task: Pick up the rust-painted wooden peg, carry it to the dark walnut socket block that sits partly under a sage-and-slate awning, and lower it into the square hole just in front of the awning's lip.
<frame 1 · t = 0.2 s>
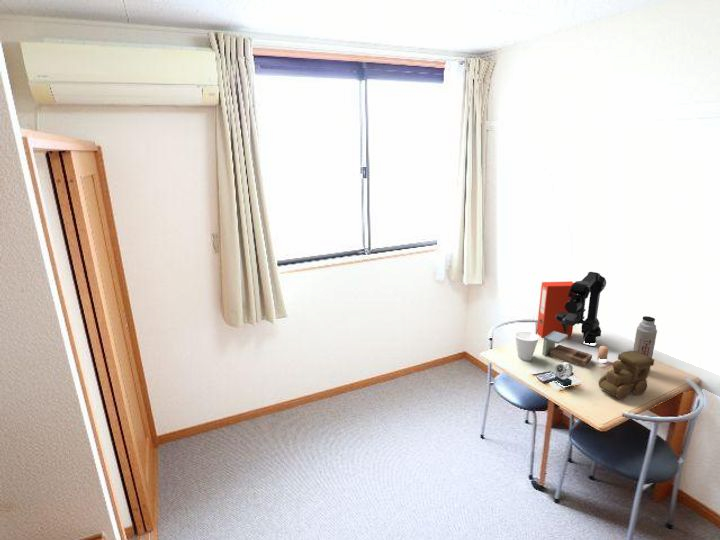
hand: (574, 335, 211), 14 cm above the table, tool pointing down, fingers open, 9 cm apart
watch: (562, 384, 194), on the table
cup: (524, 357, 220), on the table
awning: (548, 351, 225), on the table
file binder: (553, 335, 245), on the table
peg: (601, 361, 213), on the table
socket block: (571, 359, 217), on the table
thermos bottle: (639, 371, 204), on the table
wooden toy train: (622, 391, 187), on the table
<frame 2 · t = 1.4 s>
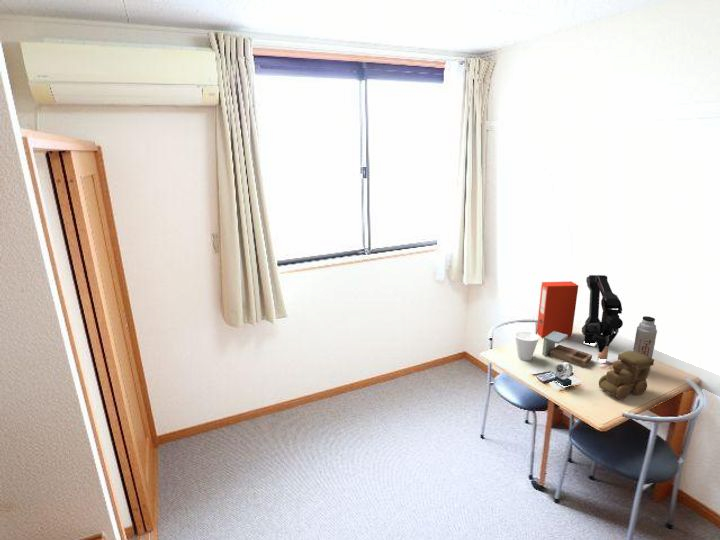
hand: (603, 349, 211), 7 cm above the table, tool pointing down, fingers open, 9 cm apart
nothing on the table moved.
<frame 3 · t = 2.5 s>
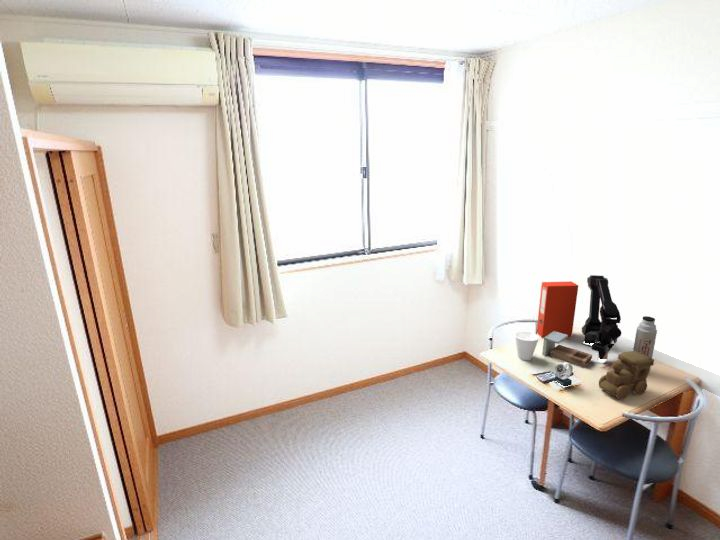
hand: (602, 358, 213), 2 cm above the table, tool pointing down, fingers closed on peg, 4 cm apart
peg: (601, 361, 213), on the table, touching gripper
everything else where it was.
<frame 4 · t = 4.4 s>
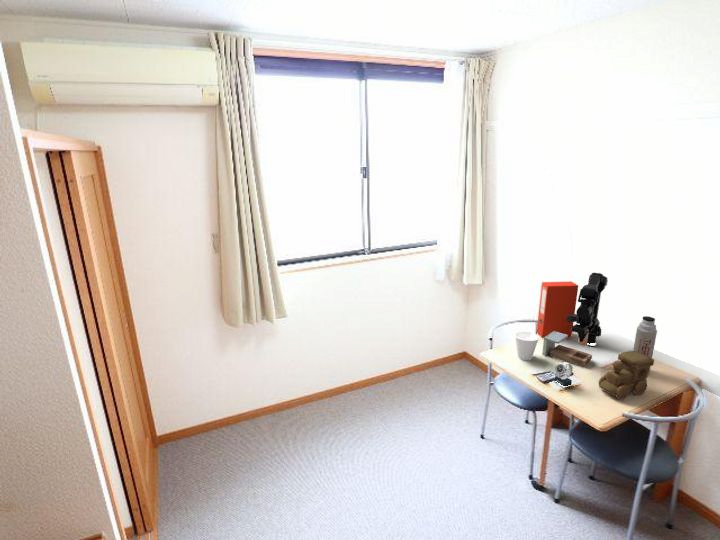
hand: (582, 340, 210), 12 cm above the table, tool pointing down, fingers closed on peg, 4 cm apart
peg: (582, 344, 211), point 10 cm above the table, touching gripper
everything else where it was.
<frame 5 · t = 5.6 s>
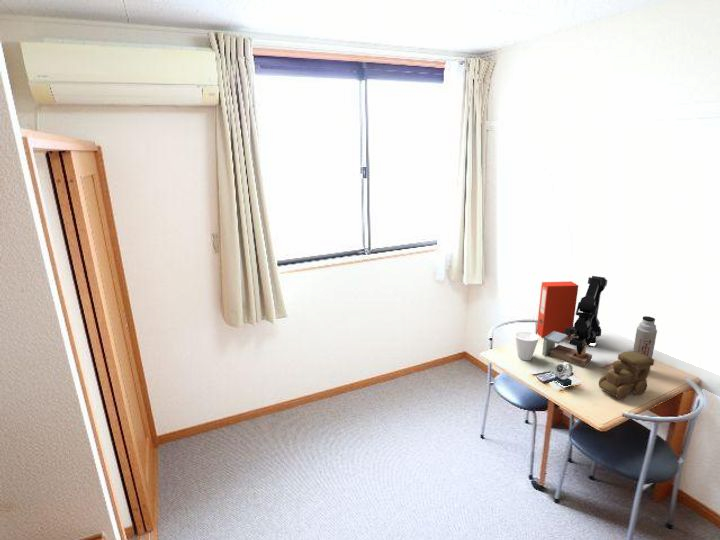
hand: (580, 352, 212), 5 cm above the table, tool pointing down, fingers closed on peg, 4 cm apart
peg: (580, 356, 213), point 3 cm above the table, touching gripper
everything else where it was.
when the fingers open (4 cm above the table, at t = 6.4 s): peg drops 2 cm, resting in socket block.
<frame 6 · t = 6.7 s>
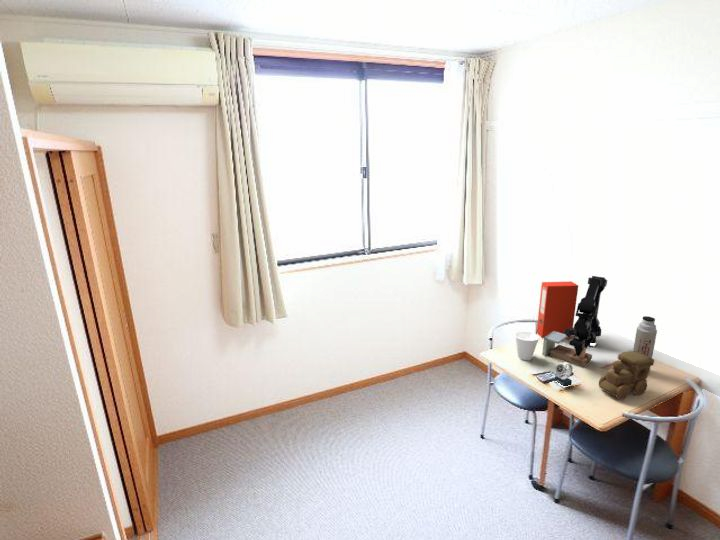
hand: (580, 353, 213), 4 cm above the table, tool pointing down, fingers open, 7 cm apart
peg: (579, 361, 214), resting in socket block
everything else where it was.
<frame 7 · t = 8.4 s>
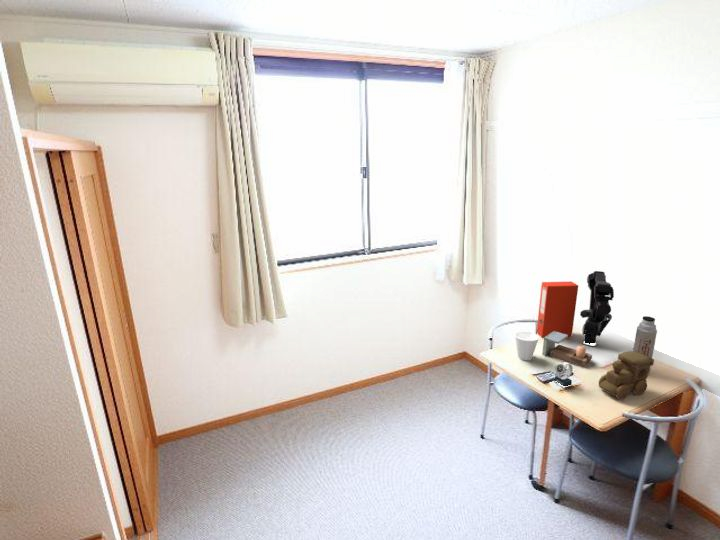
hand: (596, 335, 214), 13 cm above the table, tool pointing down, fingers open, 9 cm apart
nothing on the table moved.
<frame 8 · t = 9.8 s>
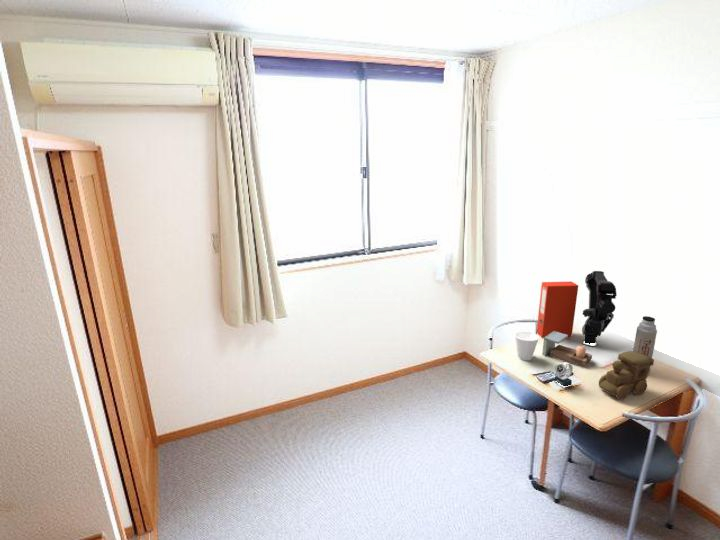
hand: (598, 334, 214), 13 cm above the table, tool pointing down, fingers open, 9 cm apart
nothing on the table moved.
at the end: peg 0.1 cm from the target spot on the socket block, point 0.0 cm above the socket block's base; peg tilted 0°; the gripper is holding nothing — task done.
